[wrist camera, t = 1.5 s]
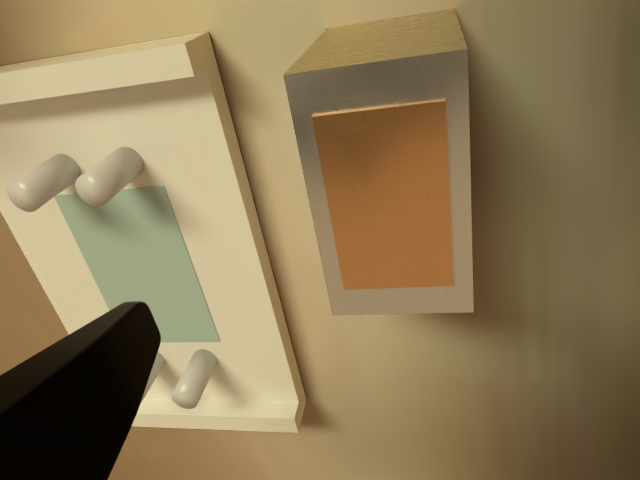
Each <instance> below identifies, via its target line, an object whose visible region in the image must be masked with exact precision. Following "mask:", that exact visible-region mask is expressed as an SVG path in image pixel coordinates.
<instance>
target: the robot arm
mask: <svg viewBox="0 0 640 480" xmlns="http://www.w3.org/2000/svg"><path fill="white" fill-rule="evenodd" d="M160 342H161V335H160V331H159V329H158V326H157V324H156V322H155V320H154V317H153V315H152V313H151V310H150V308H149V306H148V305H147V304H146V303H145V302H142V301H132V302H124V303H122V304H120V305H118V306H117V307H115V308H113V309H112V310H110V311H108V312H106V313H105V314H103V315H101V316H100V317H98V318H96V319H95V320H93V321H91V322H90V323H88V324H86V325H85V326H83V327H81V328H80V329H78V330H76V331H74V332H73V333H71V334H69V335H68V336H66V337H64V338H63V339H61V340H59V341H58V342H56V343H54V344H53V345H51V346H49V347H48V348H46V349H44V350H42V351H41V352H39V353H37V354H36V355H34V356H32V357H31V358H29V359H27V360H26V361H24V362H22V363H21V364H19V365H17V366H16V367H14V368H12V369H10V370H9V371H7V372H5V373H4V374H2V375H0V480H108V478H109V475H110V473H111V471H112V469H113V466H114V464H115V462H116V460H117V457H118V455H119V453H120V451H121V449H122V446H123V444H124V442H125V440H126V437H127V435H128V433H129V431H130V428H131V426H132V424H133V422H134V419H135V417H136V414H137V412H138V409H139V406H140V404H141V401H142V398H143V395H144V392H145V389H146V386H147V383H148V380H149V377H150V374H151V371H152V368H153V365H154V362H155V359H156V356H157V353H158V350H159V347H160Z"/></svg>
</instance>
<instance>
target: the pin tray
mask: <svg viewBox="0 0 640 480" xmlns="http://www.w3.org/2000/svg"><path fill="white" fill-rule="evenodd" d="M0 211H1V213H2V215H3V217H4V219H5V220H6V222H7V224H8V226H9V228H10V229H11V231H12V233H13V235H14V237H15V238H16V240H17V242H18V244H19V246H20V247H21V249H22V251H23V253H24V255H25V256H26V258H27V260H28V262H29V264H30V265H31V267H32V269H33V271H34V273H35V274H36V276H37V278H38V280H39V281H40V283H41V285H42V287H43V289H44V290H45V292H46V294H47V296H48V298H49V299H50V301H51V303H52V305H53V307H54V308H55V310H56V312H57V314H58V316H59V317H60V319H61V321H62V323H63V325H64V326H65V328H66V330H67V332H68V334H71V333H73V332H74V331H76V330H78V329H80V328H81V327H83V326H85V325H86V324H88V323H90V322H91V321H93V320H95V319H96V318H98V317H100V316H101V315H103V314H105V313H106V312H108V311H110V310H112V309H113V308H115V307H117V306H118V305H120V304H122V303H124V302H132V301H142V302H145V303H146V304H147V305H148V306H149V308H150V310H151V313H152V315H153V317H154V320H155V322H156V324H157V326H158V329H159V331H160V335H161V342H160V347H159V350H158V353H157V356H156V359H155V362H154V365H153V368H152V371H151V374H150V377H149V380H148V383H147V386H146V389H145V392H144V395H143V398H142V401H141V404H140V406H139V409H138V412H137V414H136V417H135V419H134V422H133V424H132V426H140V427H166V428H191V429H217V430H243V431H268V432H294V433H298V432H299V428H300V424H301V420H302V416H303V412H304V408H305V404H306V396H305V392H304V388H303V385H302V381H301V377H300V373H299V370H298V366H297V362H296V358H295V355H294V351H293V347H292V343H291V340H290V336H289V332H288V328H287V325H286V321H285V317H284V313H283V310H282V306H281V302H280V298H279V295H278V291H277V287H276V283H275V280H274V276H273V272H272V268H271V265H270V261H269V257H268V253H267V250H266V246H265V242H264V238H263V234H262V231H261V227H260V223H259V219H258V216H257V212H256V208H255V204H254V201H253V197H252V193H251V189H250V186H249V182H248V178H247V174H246V171H245V167H244V163H243V159H242V156H241V152H240V148H239V144H238V141H237V137H236V133H235V129H234V126H233V122H232V118H231V114H230V111H229V107H228V103H227V99H226V96H225V92H224V88H223V84H222V80H221V77H220V73H219V69H218V65H217V62H216V58H215V54H214V50H213V47H212V43H211V39H210V35H209V32H202V33H196V34H190V35H184V36H178V37H172V38H166V39H160V40H154V41H148V42H142V43H136V44H130V45H124V46H118V47H112V48H106V49H100V50H94V51H88V52H82V53H76V54H70V55H64V56H58V57H52V58H46V59H40V60H34V61H28V62H22V63H16V64H10V65H4V66H0Z"/></svg>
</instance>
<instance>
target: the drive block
mask: <svg viewBox="0 0 640 480" xmlns="http://www.w3.org/2000/svg"><path fill="white" fill-rule="evenodd" d="M283 75H284V80H285V85H286V90H287V95H288V100H289V105H290V110H291V115H292V120H293V124H294V129H295V134H296V139H297V144H298V149H299V154H300V159H301V164H302V169H303V174H304V178H305V183H306V188H307V193H308V198H309V203H310V208H311V213H312V218H313V223H314V227H315V232H316V237H317V242H318V247H319V252H320V257H321V262H322V267H323V272H324V276H325V281H326V286H327V291H328V296H329V301H330V306H331V311H332V315H363V314H415V313H467V312H474V303H473V258H472V213H471V169H470V124H469V79H468V48H467V45H466V42H465V39H464V36H463V33H462V30H461V27H460V24H459V21H458V18H457V15H456V12H455V9H454V8H453V9H447V10H440V11H434V12H428V13H421V14H415V15H409V16H402V17H396V18H390V19H384V20H377V21H371V22H365V23H358V24H352V25H346V26H339V27H333V28H327V29H326V30H325V31H324V32H323V33H322V34H321V35H320V36H319V37H318V38H317V39H316V40H315V41H314V42H313V44H312V45H311V46H310V47H309V48H308V49H307V50H306V51H305V52H304V53H303V54H302V55H301V56H300V57H299V58H298V60H297V61H296V62H295V63H294V64H293V65H292V66H291V67H290V68H289V69H288V70H287V71H286V72H285V73H284V74H283Z"/></svg>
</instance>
